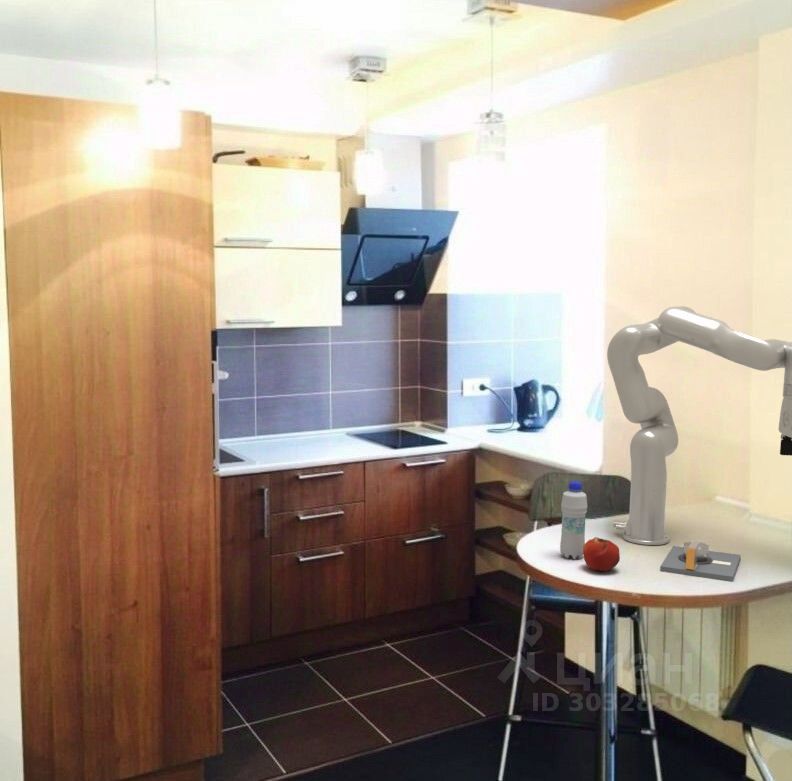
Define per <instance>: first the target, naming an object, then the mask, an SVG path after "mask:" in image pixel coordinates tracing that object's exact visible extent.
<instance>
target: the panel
mask: <svg viewBox="0 0 792 781" xmlns="http://www.w3.org/2000/svg"><path fill="white" fill-rule="evenodd" d="M683 550H684V546H678V545H672V547H671V549H670V550H669V551H668V553H667V555H666V556H665V558H664V560H663V561H662V563H661V565H660V568H659V571H660V572H664V571H666V573H671V572H672V573H673V574H678V575H684V576H685V575H686V576H692V577H700V578H706V579H711V580H712V579H713V580H720V581H727V582H733V581H734V578H735V575H736V573H737V570H738V568H739V565H740V561H741V558H742V557H741V556H742V555H741V554H738V553H737V554H735V553H728V552H721V551H714V550H708V561H705V562H697V564H696V566H695V568H694V570H691V569H686V559H684V558H683ZM672 573H671V574H672Z"/></svg>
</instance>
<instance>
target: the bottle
mask: <svg viewBox="0 0 792 781" xmlns="http://www.w3.org/2000/svg"><path fill="white" fill-rule="evenodd" d="M582 489H583V483H581V482H580V481H577V480H571V481H570V482H569V484H568V490H566V491H564V492H563V494H562V499H561V503H560V504H561V505H560V507H561V509H560V510H561V514H562V515H561V516H562V517H561V536H560V537H561V538H560V544H559V545H560V547H559V549H560V550H559V551H560V555H561V556H562V558H563V557H564V558H566V559H570V556H572V557H571V558H572V560H576V559H579V560H580V559H581V558H583V557H584V555H583V546H584V544H585V543H586V538H585V535H586V534H585V533H586V531H585V530H586V514H587V512H588V500H587V497H588V496H587V494H586V493H585V492H584V491H582Z"/></svg>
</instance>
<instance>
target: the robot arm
mask: <svg viewBox="0 0 792 781" xmlns="http://www.w3.org/2000/svg"><path fill="white" fill-rule="evenodd" d="M678 342H681V343H684V344H686V345H690V346H692V347H696V348H699V349H700V350H705V351H707V352H709V353H712V354H713V355H715V356H718V357H722V358H723V359H725V360H727V361H730V362H734V363H736V364H739V365H742V366H745V367H748V368H750V369H754V370H757V371H762V372H763V371H764V372H765V371H766V372H767V371H770V370H775V369H784V374H783V375H784V376H783V385H782V386H783V388H782V402H781V408H780V414H779V422H778V432H779V433H780V448H779V455H780V456H792V342H791V341H786V340H780V339H772V338H771V339H760V338H757V337H754V336H751V335H748V334H745V333H742V332H739V331H738V330H735V329H733V328H731V327H730V326H729V325H728V324H727V323H726V322H724V321H722V320H720V319H716V318H713V317H709V316H706V315H704V314H701V313H698V312H696V311H695V310H694V309H692V308H691V307H688V306H680V305H679V306H670V307H667V308H665V309H664V310H663V311H662V312H661V313H660V315H659V316H658V317H657V318H655V319H652V320H650V321H648V322H645V323H639V324H638V323H637V324H630V325H628V326H624V327H622V328H620V329H619V330H618V331H617V332H616V333H615V334H614V335H613V337H612V338H611V340H610V341H609V343H608V346H607V352H606V357H607V364H608V366H609V370H610V373H611V376H612V378H613V382H614V387H615V390H616V394H617V396H618V399H619V401H620V402H619V403H620V405H621V409H622V413H623V415H624V416H625V418H626V419H627V420H628V422H630V423H633V424H637V425H638V424H639V425H640V427H641V428H640V429H639V430H637V431H636V433H635V434H634V435H633V436H632V437H631V441H630V445H629V455H630V494H629V495H630V496H629V514H628V517H629V518H628V520H625V521H620V520H613V522H612V523H613V525H612V526H613V528H615V529H616V530H623V533H622V539H624V540H626V541H627V542H628V543H629V542H630V543H633V544H636V545H643V546H644V545H645V546H661V545H666V544H668V543H669V542H670V536H669V535H668V534H667V533H665V520H666V518H665V517H666V496H667V479H668V478H667V477H668V476H667V475H668V472H667V464H666V461H667V460H666V458H667V457H668V456H670V455H673V453H674V452H675V451H676V450H677V448H678V446H679V434H678V431H677V426H676V425H675V421H674V418H673V415H672V412H671V409H670V406H669V403H668V400H667V398H666V397H665V395H664V393H663V392H662V391H661V390H659V389H658V388H656V387H652V386H649V383H648V381H647V378H646V373H645V370H644V368H643V366H642V365H641V364H640V361H639V356H642V355H649V354H651V353H655V352H657V351H659V350H662V349H664V348H666V347H668V346H672V345H673V344H676V343H678Z"/></svg>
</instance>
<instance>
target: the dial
mask: <svg viewBox="0 0 792 781" xmlns="http://www.w3.org/2000/svg"><path fill="white" fill-rule="evenodd" d="M683 547H684V550H683V558H684V559H686V569H691V570H694V568H695V566H696V564H697V562H705V561H708V551H709V549H710V547H709V545H708V544H707V543H705V542H704V543H703V542H700V541H687V542H684V543H683Z"/></svg>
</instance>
